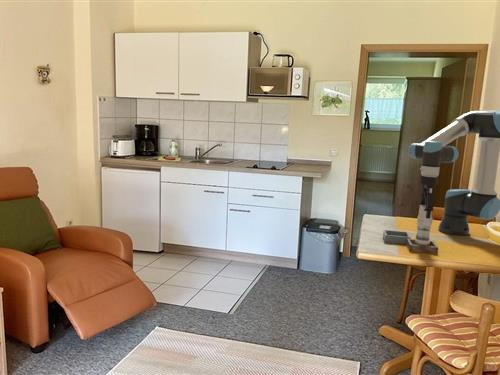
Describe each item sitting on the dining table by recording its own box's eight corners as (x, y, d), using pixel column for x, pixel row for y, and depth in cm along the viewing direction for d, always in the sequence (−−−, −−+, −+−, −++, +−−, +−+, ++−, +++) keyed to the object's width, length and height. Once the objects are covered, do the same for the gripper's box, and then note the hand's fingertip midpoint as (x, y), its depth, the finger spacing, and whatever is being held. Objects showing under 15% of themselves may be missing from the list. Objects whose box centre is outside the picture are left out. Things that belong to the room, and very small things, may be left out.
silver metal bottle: (415, 246, 210) (419, 204, 207) (430, 248, 207) (435, 206, 204) (412, 249, 205) (416, 206, 202) (428, 252, 202) (432, 208, 198)
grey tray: (407, 238, 223) (407, 231, 222) (410, 244, 213) (410, 237, 212) (382, 236, 225) (383, 229, 225) (384, 242, 215) (385, 235, 214)
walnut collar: (432, 247, 210) (433, 240, 210) (437, 254, 199) (438, 247, 199) (406, 244, 212) (406, 238, 212) (409, 251, 202) (410, 244, 201)
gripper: (416, 172, 213) (411, 215, 216) (425, 178, 189) (419, 227, 192) (432, 173, 212) (427, 217, 215) (444, 179, 188) (438, 229, 191)
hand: (424, 222), depth 204 cm, fingers open, 13 cm apart
